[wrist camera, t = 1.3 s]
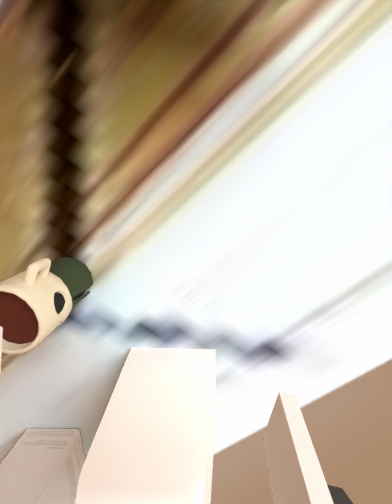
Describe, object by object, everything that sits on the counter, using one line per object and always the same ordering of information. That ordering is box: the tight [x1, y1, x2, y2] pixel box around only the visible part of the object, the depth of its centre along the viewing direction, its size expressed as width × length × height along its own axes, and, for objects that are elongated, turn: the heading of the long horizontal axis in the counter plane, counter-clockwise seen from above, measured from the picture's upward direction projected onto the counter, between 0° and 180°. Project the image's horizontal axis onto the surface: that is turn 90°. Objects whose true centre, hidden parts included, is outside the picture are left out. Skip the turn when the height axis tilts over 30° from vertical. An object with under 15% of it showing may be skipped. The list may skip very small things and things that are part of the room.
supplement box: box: [0, 428, 85, 504], centre depth 40 cm, size 9×9×15 cm
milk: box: [75, 348, 216, 504], centre depth 30 cm, size 12×12×26 cm
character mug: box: [0, 257, 93, 357], centre depth 34 cm, size 11×7×13 cm, turn 158°
